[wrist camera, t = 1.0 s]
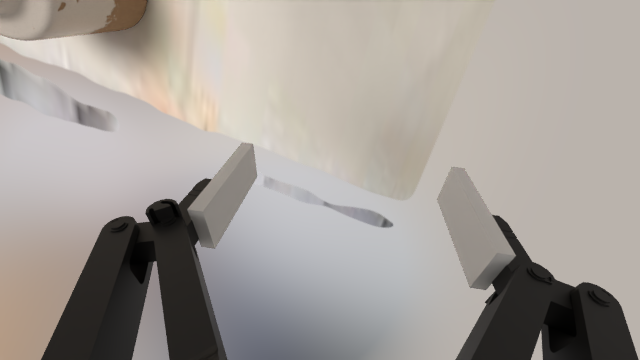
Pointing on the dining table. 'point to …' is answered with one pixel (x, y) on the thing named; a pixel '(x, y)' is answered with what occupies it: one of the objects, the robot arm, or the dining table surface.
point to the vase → (66, 17)
